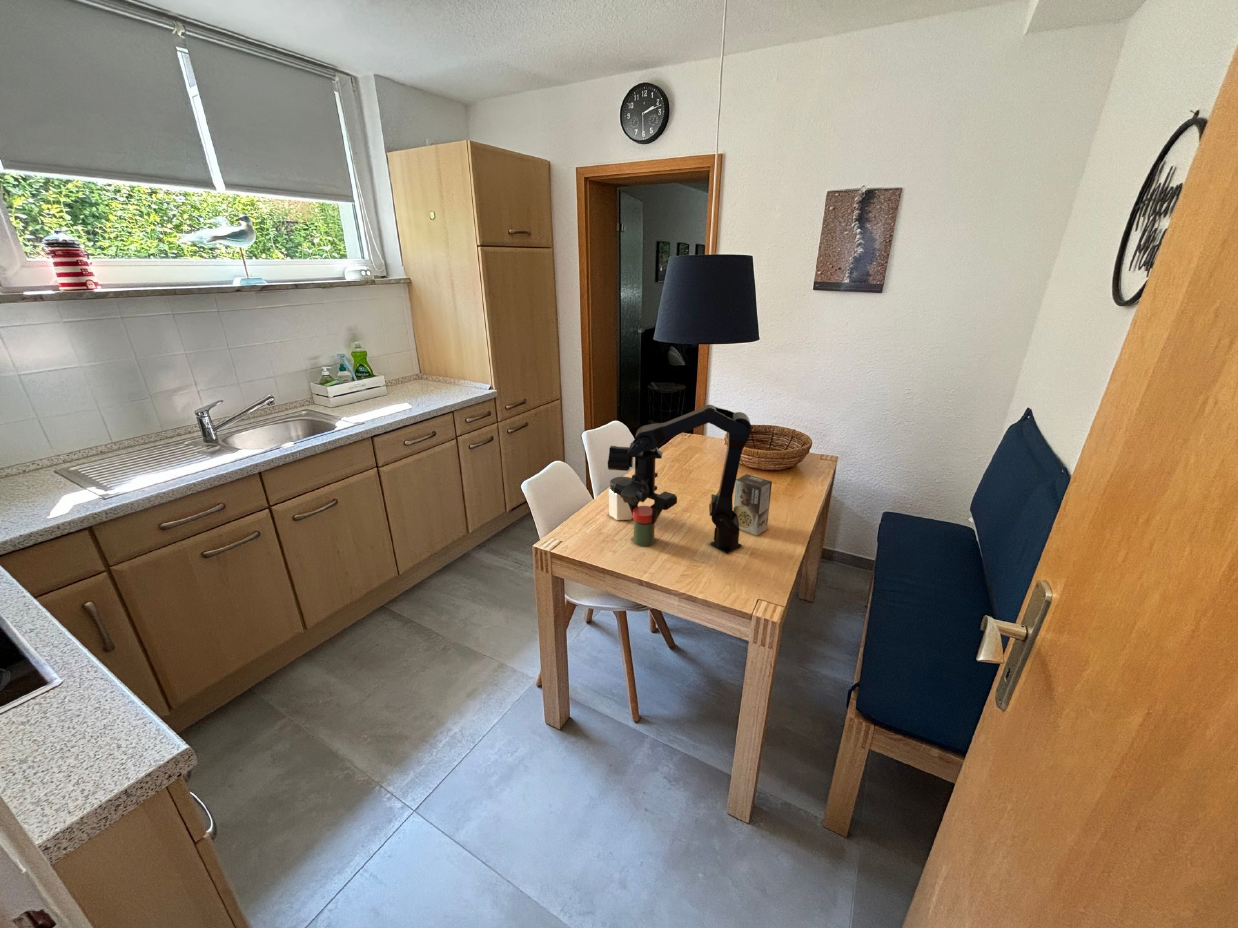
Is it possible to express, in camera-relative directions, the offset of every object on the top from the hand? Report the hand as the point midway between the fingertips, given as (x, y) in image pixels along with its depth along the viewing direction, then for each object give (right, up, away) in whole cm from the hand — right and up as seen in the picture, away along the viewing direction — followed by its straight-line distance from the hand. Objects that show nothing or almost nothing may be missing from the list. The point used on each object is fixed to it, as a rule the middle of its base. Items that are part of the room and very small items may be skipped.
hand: (644, 520), depth 146 cm
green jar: (0, -6, +3) cm, 7 cm away
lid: (0, +2, -1) cm, 3 cm away
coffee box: (+33, -4, +9) cm, 35 cm away
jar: (-6, 0, +18) cm, 19 cm away
